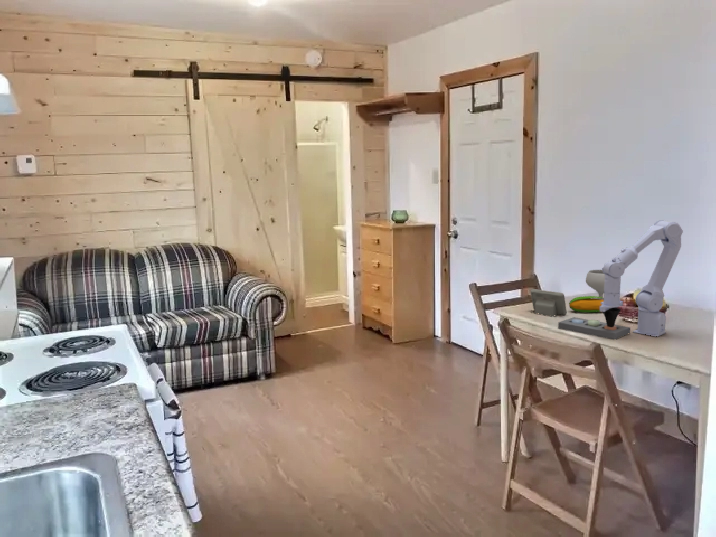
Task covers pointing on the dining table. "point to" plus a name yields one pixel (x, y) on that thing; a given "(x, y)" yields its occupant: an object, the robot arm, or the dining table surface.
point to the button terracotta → (610, 327)
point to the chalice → (596, 281)
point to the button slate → (577, 321)
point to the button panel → (593, 329)
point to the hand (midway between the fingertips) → (610, 326)
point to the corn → (586, 304)
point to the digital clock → (548, 302)
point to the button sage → (593, 323)
